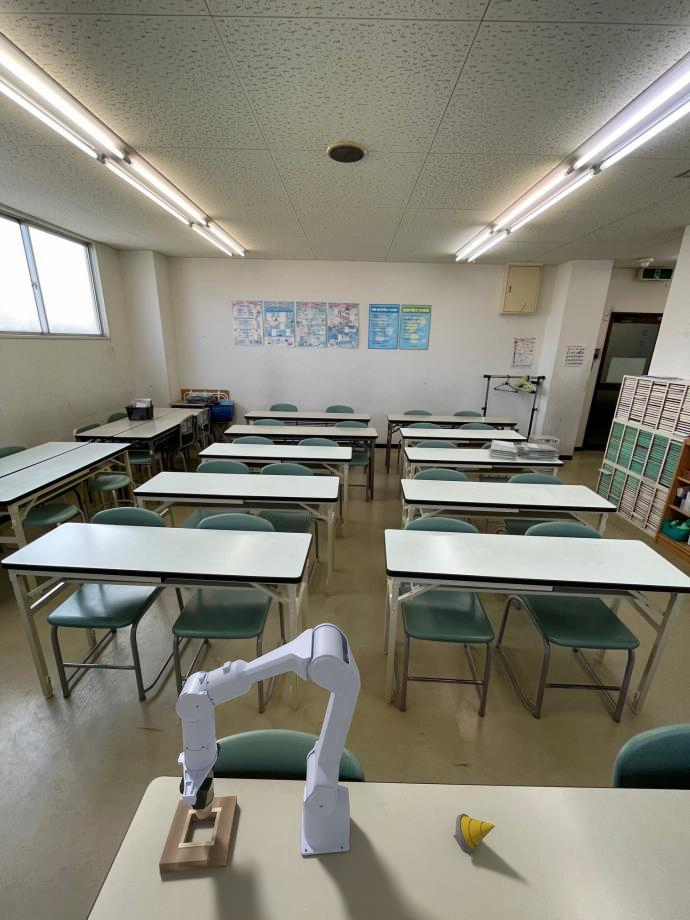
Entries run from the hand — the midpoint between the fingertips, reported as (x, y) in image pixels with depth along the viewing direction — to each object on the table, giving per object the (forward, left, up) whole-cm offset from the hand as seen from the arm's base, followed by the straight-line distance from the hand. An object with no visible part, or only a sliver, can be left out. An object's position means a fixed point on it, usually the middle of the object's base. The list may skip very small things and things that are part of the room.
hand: (202, 795), depth 74 cm
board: (+1, 0, -10) cm, 10 cm away
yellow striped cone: (-53, +5, -10) cm, 54 cm away
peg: (0, 0, -4) cm, 4 cm away
